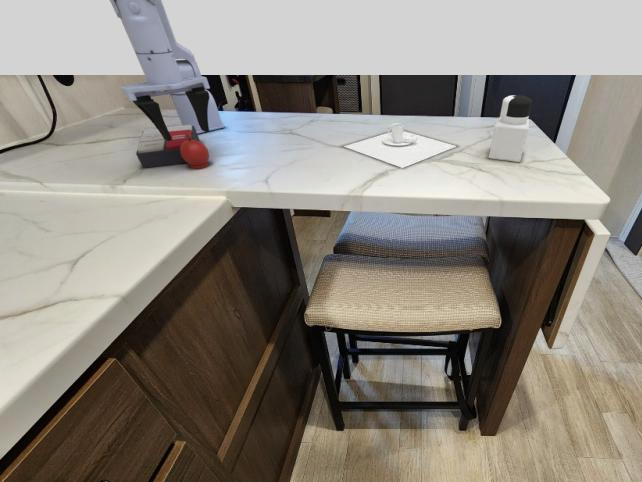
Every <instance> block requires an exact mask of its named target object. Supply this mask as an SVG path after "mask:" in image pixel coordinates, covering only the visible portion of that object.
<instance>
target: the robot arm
mask: <svg viewBox="0 0 642 482" xmlns="http://www.w3.org/2000/svg"><path fill="white" fill-rule="evenodd" d="M109 2H110V4H111V7H112V8H113V10H114V13H115V14H116V16H117V18H119V19H120V21H121V23H122V26H123V28H124V30H125V33H126V35H127V38H128V40H129V41H130V44H131V47H132V49H133V51H134V53H135V56H136V58H137V60H138V63H139V65H140V67H141V69H142V73H143V74H144V77H145V78H146V79H145V80H146V82H140V83H135V84H131V85H125V86H120V89H121V91H122V94H123V95H124V97H125V99H126V100H127V101H129V102H132V103H133V104H134V105H135V106H136V107H137V108H138V109H139V110H140V111H142V113H143V114H144V115H145V116H146V117H147V118H148V119H149V120H150V121H151V123H152V124H153V125H154V126H155V128H157V129H158V130H159V132H160V133H161V135H162V136H163V138H164V139H165V140H167V141H171V140H172V138H171V135H170V133H169V131H168V129H167V127H168V126H167V124H166V122H165V120H164V117H163V114H162V111H161V107H160V104H159V103H158V102H156V101H155V100H154V97H161V96H166V95H169V96H170V98H171V101H172V103H173V107H174V109H175V111H176V114H177V116H178V118H179V121H180V123H181V126H183V125H192V126H194V127H195V129H196V132H197V135H199V134H202V133H209V132H210V131H211V132H212V131H214V130H220V129H224V128H225V125H224V124H223V121H222V119H221V115H220V111H219V109H218V106H217V103H216V100H215V98H214V96H213V94H212V93H211V92H210V91H209V89H211V86H210V84H209V80H208V78H207V76H202V75H201V74H202V73H201V71H200V68H199V65H198V63H197V61H196V59H195V56H194V53H192V51H191V50H190V49H189V48H187V47H185V46H184V45H183V44H180V43H179V42H177V40H176V36H175V34H174V31H173V27H172V25H171V23H170V20H169V17H168V14H167V12H166V9H165V7H164V3H163V1H162V0H109Z"/></svg>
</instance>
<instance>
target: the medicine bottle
mask: <svg viewBox="0 0 642 482" xmlns="http://www.w3.org/2000/svg"><path fill="white" fill-rule="evenodd" d="M532 105H533V100H532V98H531V97H529V96H525V95H521V94H519V95H518V94H517V95H516V94H515V95H513V94H512V95H508V96H506V97H504V98H503V99H502V103H501V109H500V114H499V117H497V120H496V122H495V124H494V126H493V132H492V136H491V137H492V138H491V143H490V147H489V153H488V159H492V160H500V161H506V162H507V161H508V162H515V163H520V162H521V160H522V157H523V152H524V148H525V145H526V141H527V136H528V133H529V129H530V123H531V120H530V119H529V117H530V113H531V110H532Z"/></svg>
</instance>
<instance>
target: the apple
mask: <svg viewBox="0 0 642 482" xmlns="http://www.w3.org/2000/svg"><path fill="white" fill-rule="evenodd" d="M186 136H187V138H188V140H187V141H185V142H183V143H182V145H181V147H180V153H181V156H182V158H183V159H184V160H185V161H186V162H187V164H189V167H190V168H191V169H195V170H199V169H204V168H207V167H208V166H209V165H210V163H209V160H210V153H209V150H208V147H206V145H205V144H204V143H202V142H201V141H200V142H199V141H197V140H191V139H190V136H189V134H187V135H186Z"/></svg>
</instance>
